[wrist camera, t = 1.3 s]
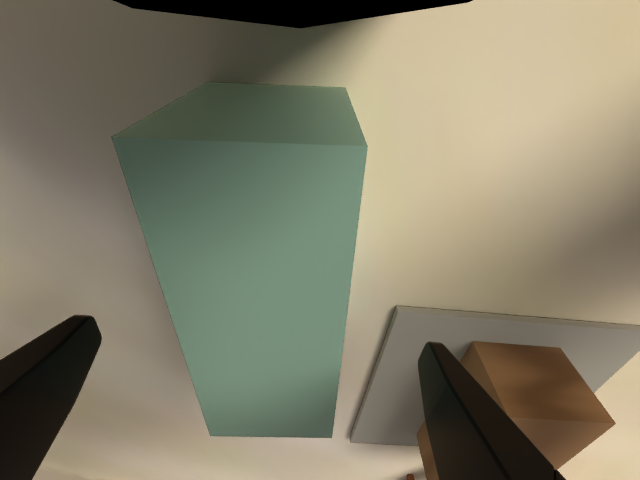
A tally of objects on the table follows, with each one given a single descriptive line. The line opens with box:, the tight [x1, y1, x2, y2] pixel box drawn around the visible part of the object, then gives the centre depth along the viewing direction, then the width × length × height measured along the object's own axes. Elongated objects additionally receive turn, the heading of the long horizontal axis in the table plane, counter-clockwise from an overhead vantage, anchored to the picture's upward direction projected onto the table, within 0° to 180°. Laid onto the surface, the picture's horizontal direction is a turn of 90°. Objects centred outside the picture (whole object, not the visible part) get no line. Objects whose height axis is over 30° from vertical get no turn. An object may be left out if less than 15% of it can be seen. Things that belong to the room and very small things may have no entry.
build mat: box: [350, 306, 640, 446], centre depth 21 cm, size 14×14×1 cm
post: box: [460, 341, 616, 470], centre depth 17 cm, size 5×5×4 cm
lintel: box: [112, 82, 367, 438], centre depth 11 cm, size 11×4×6 cm, turn 178°
